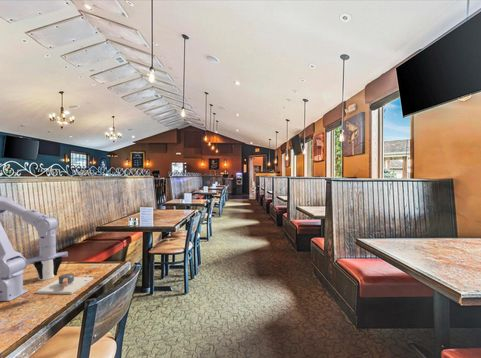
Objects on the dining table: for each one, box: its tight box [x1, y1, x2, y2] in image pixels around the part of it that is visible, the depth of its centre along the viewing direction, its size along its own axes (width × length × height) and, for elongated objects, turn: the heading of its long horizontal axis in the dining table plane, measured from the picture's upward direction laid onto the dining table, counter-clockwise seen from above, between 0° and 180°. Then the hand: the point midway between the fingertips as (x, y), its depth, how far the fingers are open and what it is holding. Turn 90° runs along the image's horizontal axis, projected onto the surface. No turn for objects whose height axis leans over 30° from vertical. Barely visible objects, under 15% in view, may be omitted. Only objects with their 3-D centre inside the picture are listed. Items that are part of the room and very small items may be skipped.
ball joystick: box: [58, 272, 75, 287], centre depth 121 cm, size 10×6×2 cm, turn 28°
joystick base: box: [35, 276, 94, 295], centre depth 123 cm, size 16×16×2 cm
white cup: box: [36, 259, 55, 281], centre depth 133 cm, size 8×8×10 cm
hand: (48, 276), depth 113 cm, fingers open, 4 cm apart
